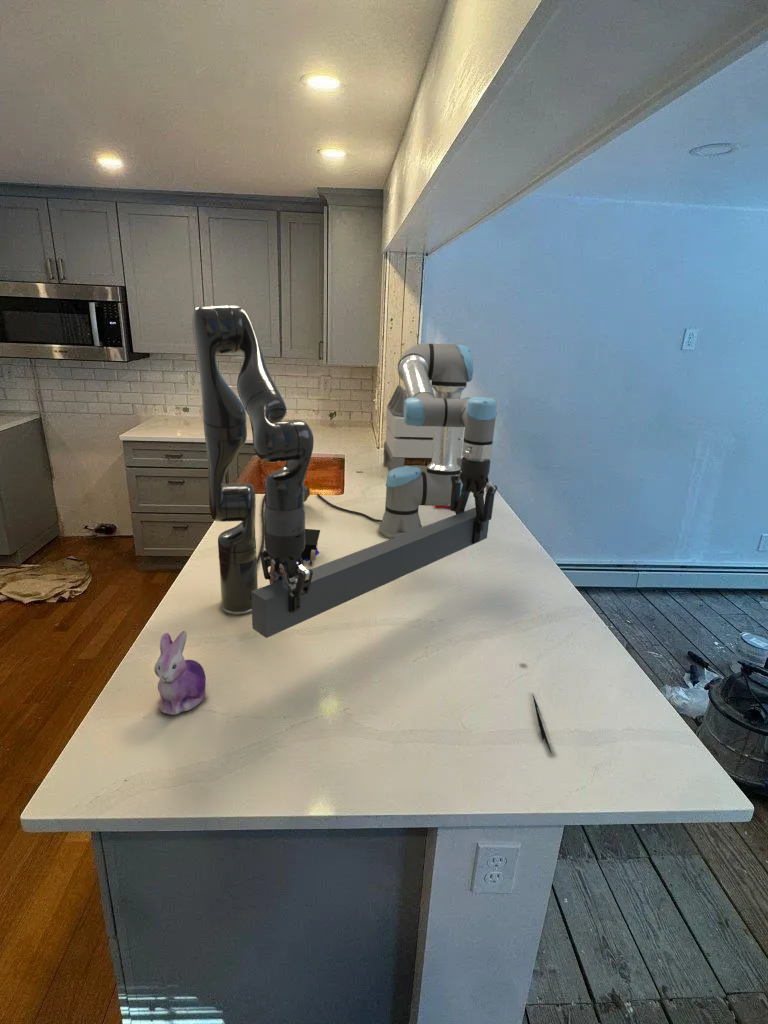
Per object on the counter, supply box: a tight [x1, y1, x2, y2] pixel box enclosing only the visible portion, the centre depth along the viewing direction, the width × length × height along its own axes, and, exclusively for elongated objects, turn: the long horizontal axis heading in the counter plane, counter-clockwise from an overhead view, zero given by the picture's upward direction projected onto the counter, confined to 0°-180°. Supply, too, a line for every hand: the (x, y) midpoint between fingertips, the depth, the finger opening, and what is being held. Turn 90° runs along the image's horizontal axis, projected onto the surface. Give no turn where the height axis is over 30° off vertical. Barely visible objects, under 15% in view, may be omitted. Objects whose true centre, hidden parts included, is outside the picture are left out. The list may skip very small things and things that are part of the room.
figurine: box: [153, 630, 207, 716], centre depth 109 cm, size 9×10×15 cm
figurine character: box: [301, 528, 321, 566], centre depth 176 cm, size 7×8×15 cm
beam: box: [251, 507, 490, 639], centre depth 134 cm, size 75×5×8 cm, turn 137°
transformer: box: [383, 384, 465, 472], centre depth 268 cm, size 34×33×41 cm
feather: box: [522, 663, 555, 753], centre depth 115 cm, size 2×28×2 cm
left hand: (286, 605), depth 112 cm, fingers closed on beam, 4 cm apart
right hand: (467, 539), depth 157 cm, fingers closed on beam, 5 cm apart
